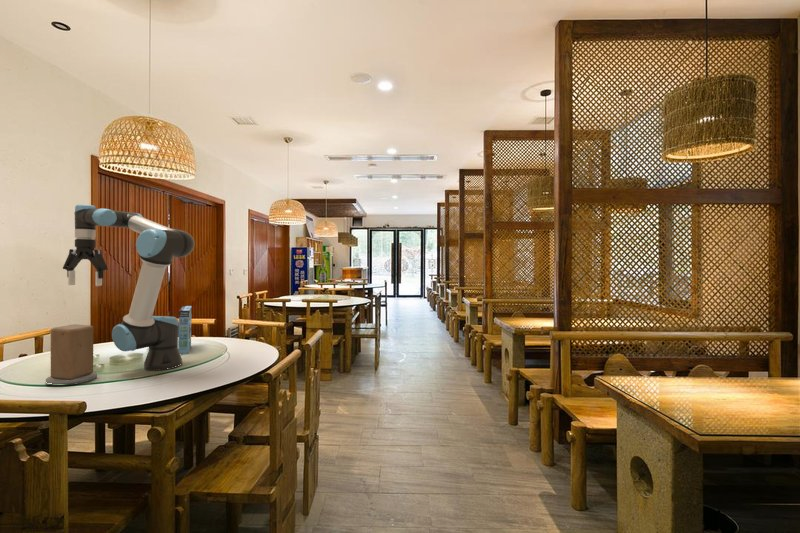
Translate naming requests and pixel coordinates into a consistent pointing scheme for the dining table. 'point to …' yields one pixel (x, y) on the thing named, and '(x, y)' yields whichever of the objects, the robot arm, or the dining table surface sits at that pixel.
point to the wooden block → (71, 351)
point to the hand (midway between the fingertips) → (85, 285)
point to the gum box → (184, 329)
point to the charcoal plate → (72, 381)
